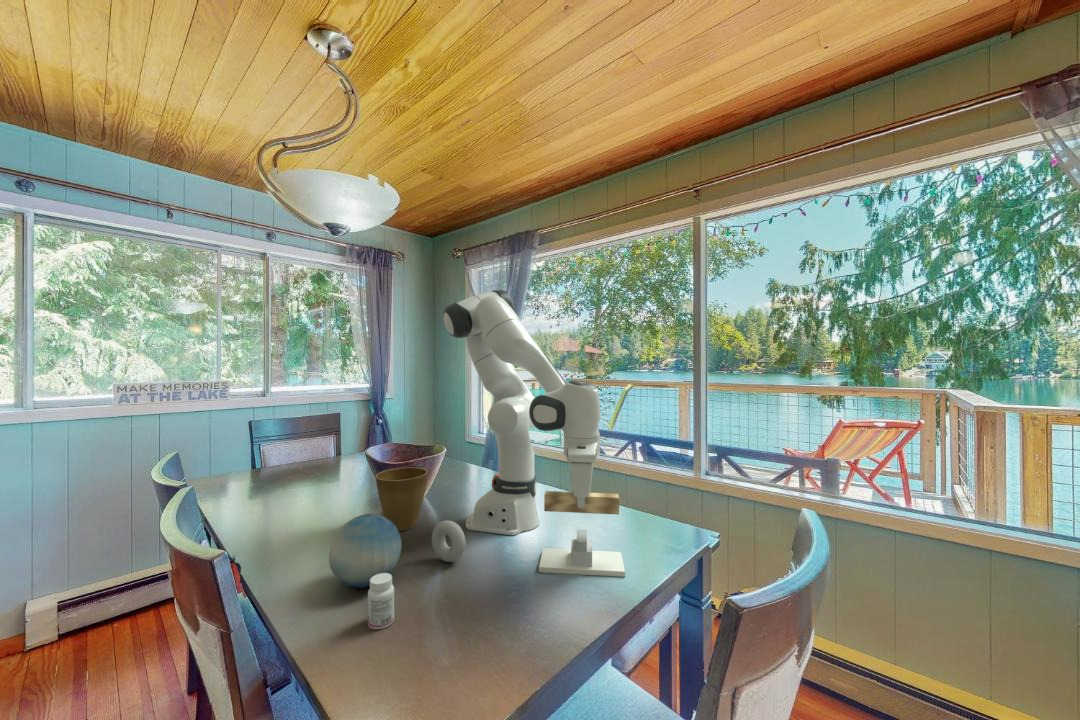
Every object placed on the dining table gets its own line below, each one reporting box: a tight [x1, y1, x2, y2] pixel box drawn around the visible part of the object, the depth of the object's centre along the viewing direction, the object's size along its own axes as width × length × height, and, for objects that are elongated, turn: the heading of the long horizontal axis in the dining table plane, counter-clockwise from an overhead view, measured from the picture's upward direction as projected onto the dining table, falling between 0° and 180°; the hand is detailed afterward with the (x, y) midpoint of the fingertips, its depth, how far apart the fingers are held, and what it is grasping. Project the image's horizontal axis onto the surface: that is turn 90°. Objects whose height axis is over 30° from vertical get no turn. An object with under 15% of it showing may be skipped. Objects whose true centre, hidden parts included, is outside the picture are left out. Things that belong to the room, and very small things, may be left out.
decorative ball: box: [328, 513, 402, 589], centre depth 94 cm, size 15×15×15 cm
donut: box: [431, 520, 467, 563], centre depth 104 cm, size 10×3×10 cm, turn 61°
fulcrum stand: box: [538, 529, 626, 578], centre depth 103 cm, size 20×10×7 cm, turn 84°
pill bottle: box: [367, 573, 395, 630], centre depth 80 cm, size 5×5×8 cm
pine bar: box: [543, 490, 620, 515], centre depth 103 cm, size 18×3×4 cm, turn 84°
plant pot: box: [375, 466, 428, 532], centre depth 126 cm, size 15×15×16 cm
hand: (581, 503), depth 103 cm, fingers closed on pine bar, 3 cm apart
